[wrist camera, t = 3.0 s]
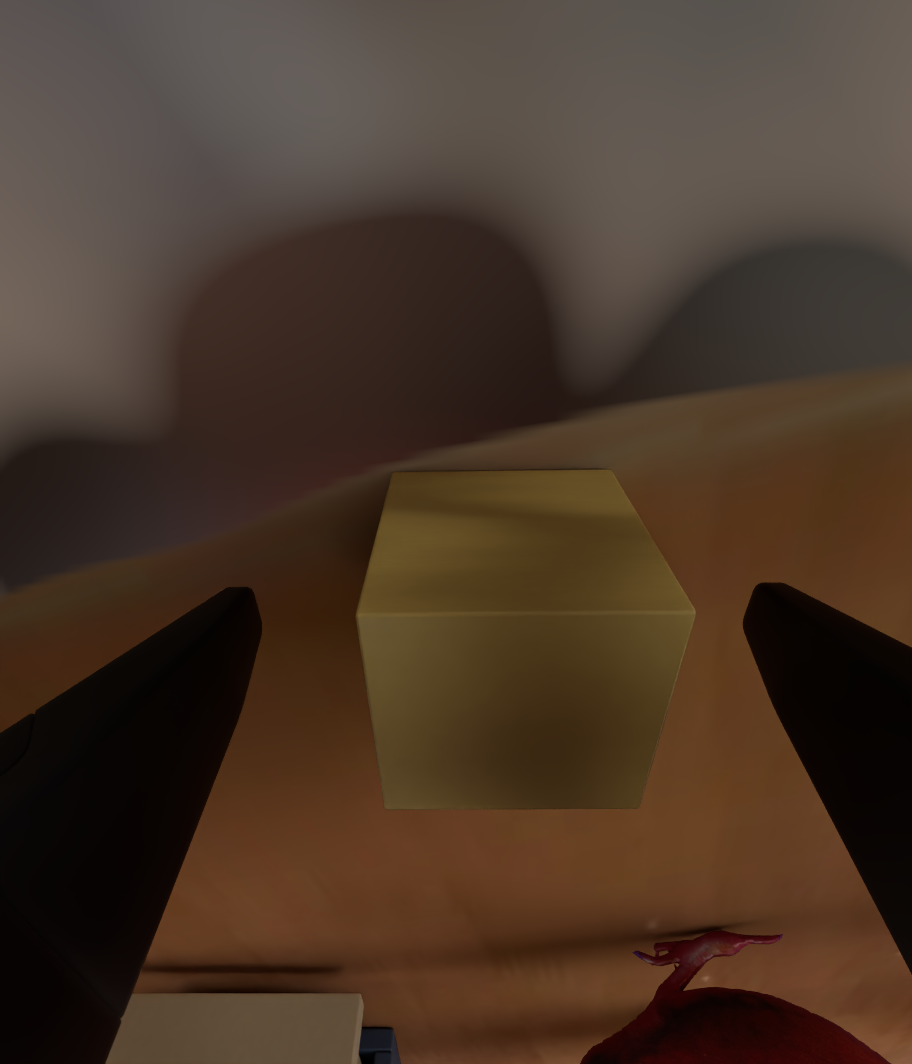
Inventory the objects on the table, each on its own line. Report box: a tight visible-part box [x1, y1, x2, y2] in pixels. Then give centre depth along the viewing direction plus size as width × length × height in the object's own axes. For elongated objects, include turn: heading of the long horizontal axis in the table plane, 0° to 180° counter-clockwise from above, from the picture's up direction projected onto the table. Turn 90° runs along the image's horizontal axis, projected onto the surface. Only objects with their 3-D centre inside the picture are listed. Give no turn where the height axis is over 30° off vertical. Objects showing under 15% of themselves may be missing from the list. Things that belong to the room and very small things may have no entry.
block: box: [355, 470, 696, 810], centre depth 9 cm, size 4×4×4 cm
